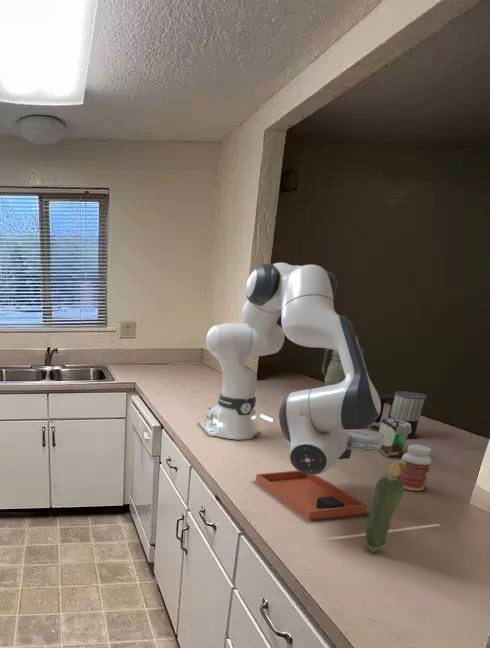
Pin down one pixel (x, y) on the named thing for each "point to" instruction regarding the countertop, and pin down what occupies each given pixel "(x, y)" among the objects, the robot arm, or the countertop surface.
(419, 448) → the pill bottle
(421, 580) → the countertop surface
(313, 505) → the tray
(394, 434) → the food container
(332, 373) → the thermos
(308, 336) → the robot arm
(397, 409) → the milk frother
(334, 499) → the block
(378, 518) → the vegetable
